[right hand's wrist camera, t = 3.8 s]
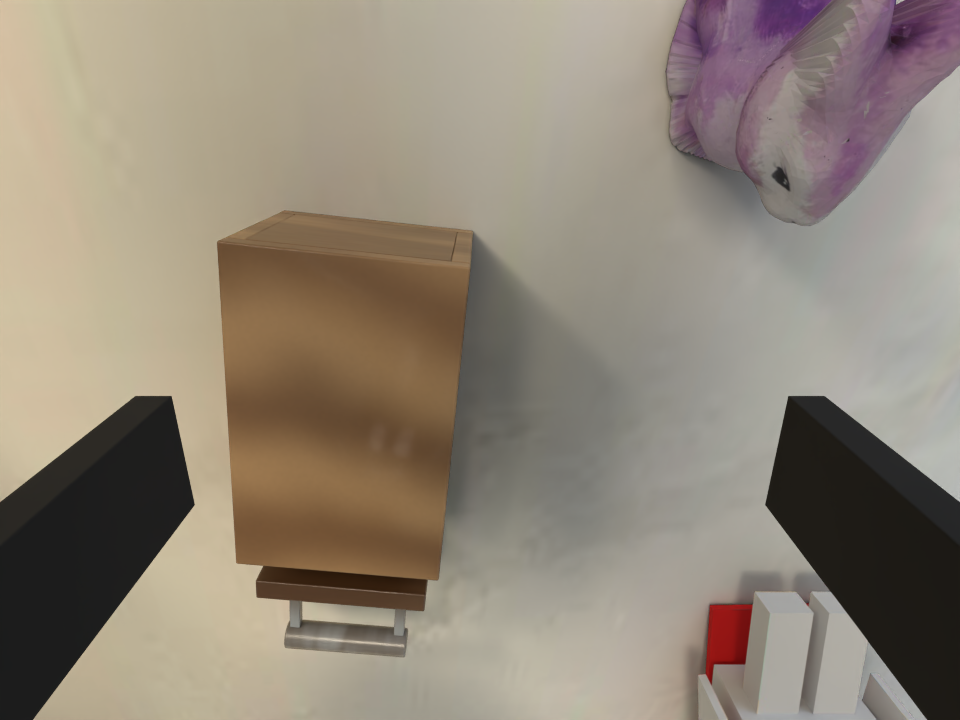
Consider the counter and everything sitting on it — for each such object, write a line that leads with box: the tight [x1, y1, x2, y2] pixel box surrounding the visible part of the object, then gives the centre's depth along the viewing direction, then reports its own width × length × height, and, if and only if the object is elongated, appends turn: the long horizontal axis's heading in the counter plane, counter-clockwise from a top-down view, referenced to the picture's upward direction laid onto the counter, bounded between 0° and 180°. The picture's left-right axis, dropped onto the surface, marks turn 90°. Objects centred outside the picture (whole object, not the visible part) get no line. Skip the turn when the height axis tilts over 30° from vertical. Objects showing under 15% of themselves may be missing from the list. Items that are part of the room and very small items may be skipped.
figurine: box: [666, 0, 960, 226], centre depth 23 cm, size 9×10×15 cm
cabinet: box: [217, 211, 473, 580], centre depth 31 cm, size 17×10×9 cm, turn 174°
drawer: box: [256, 566, 428, 657], centre depth 34 cm, size 21×9×7 cm, turn 174°
